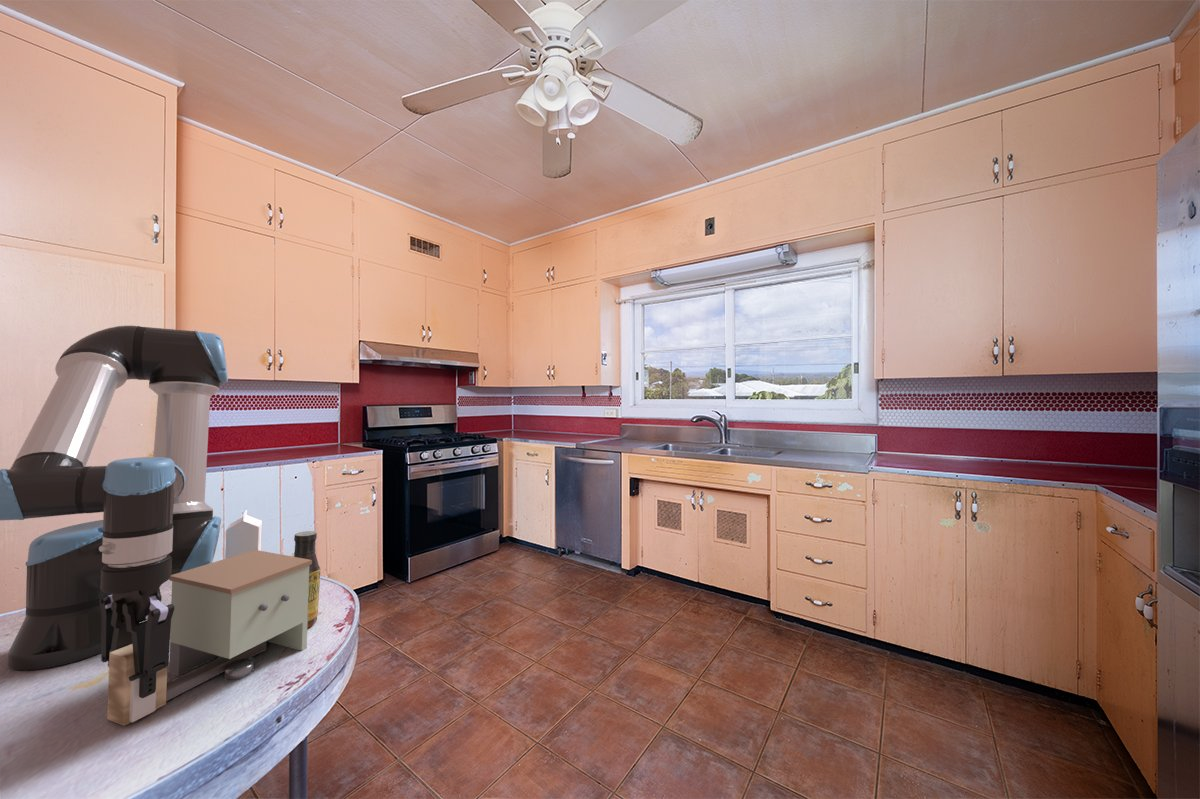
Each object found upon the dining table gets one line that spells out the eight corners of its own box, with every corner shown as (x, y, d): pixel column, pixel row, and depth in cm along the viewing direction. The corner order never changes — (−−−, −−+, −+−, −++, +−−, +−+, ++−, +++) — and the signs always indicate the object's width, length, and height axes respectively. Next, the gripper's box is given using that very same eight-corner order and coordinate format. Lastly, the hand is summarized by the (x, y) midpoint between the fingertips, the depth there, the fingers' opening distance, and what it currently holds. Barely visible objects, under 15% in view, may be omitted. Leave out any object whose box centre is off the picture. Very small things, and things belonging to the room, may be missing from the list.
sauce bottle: (300, 635, 92) (303, 539, 92) (275, 631, 93) (278, 536, 93) (325, 620, 98) (328, 530, 98) (302, 616, 99) (304, 528, 99)
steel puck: (218, 679, 77) (219, 668, 77) (243, 666, 81) (243, 656, 81) (235, 684, 76) (235, 673, 76) (259, 670, 80) (259, 660, 80)
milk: (223, 613, 99) (225, 516, 99) (228, 602, 105) (230, 510, 105) (257, 607, 103) (259, 513, 103) (260, 597, 108) (262, 507, 108)
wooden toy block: (107, 719, 66) (109, 652, 66) (254, 646, 86) (255, 595, 86) (123, 725, 65) (126, 657, 65) (268, 650, 85) (270, 598, 85)
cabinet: (165, 673, 78) (169, 575, 78) (252, 632, 92) (255, 549, 92) (229, 694, 73) (233, 590, 73) (311, 647, 87) (313, 560, 87)
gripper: (70, 559, 67) (64, 715, 67) (141, 576, 62) (135, 744, 61) (135, 545, 74) (130, 685, 74) (204, 558, 69) (198, 709, 69)
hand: (132, 711), depth 68 cm, fingers closed on wooden toy block, 4 cm apart
